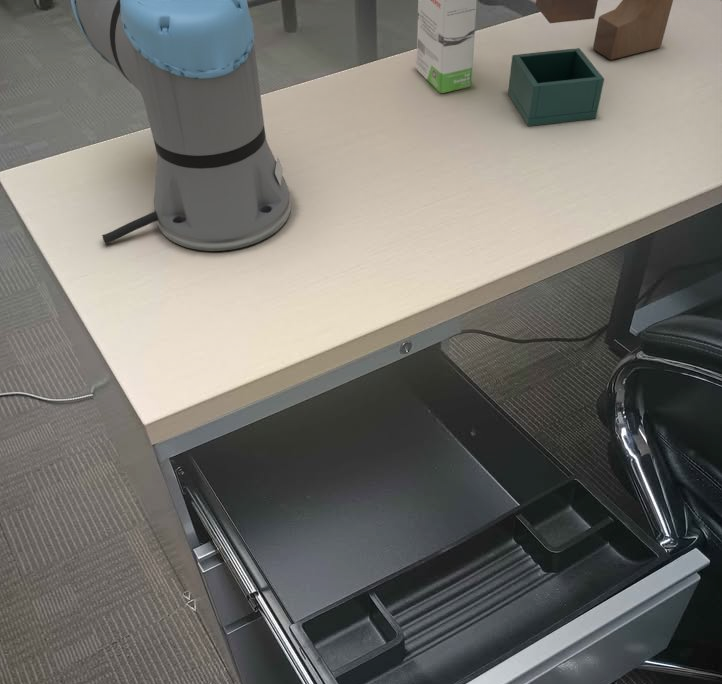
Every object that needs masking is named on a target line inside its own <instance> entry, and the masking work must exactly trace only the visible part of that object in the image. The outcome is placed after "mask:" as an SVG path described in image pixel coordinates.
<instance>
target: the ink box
mask: <svg viewBox="0 0 722 684" xmlns="http://www.w3.org/2000/svg"><path fill="white" fill-rule="evenodd" d="M477 5H478V0H418V1H417V30H416V31H417V32H416V33H417V34H416V35H417V37H416V39H417V40H416V41H417V42H416V68H415V70H416V71H417V72H418V73H419V74H421V76H422V77H424V79H425V80H426V81H427V82H428V83H430V85H431V86H432V87H433V88H434V89H435V90H436V91H437V92H438V93H439V94H444V93H449V92H453V91H458V90H462V89H466V88H470V87H472V79H473V77H472V76H473V63H474V49H475V33H476V20H477V19H476V18H477Z"/></svg>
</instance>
